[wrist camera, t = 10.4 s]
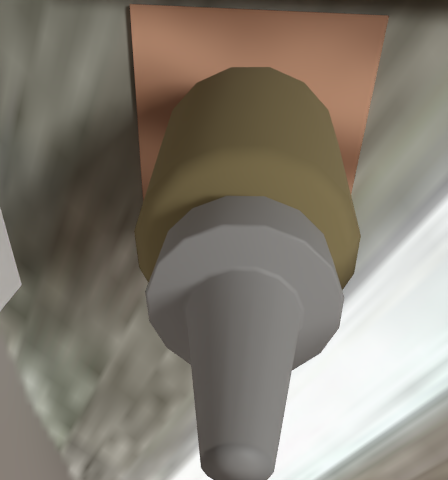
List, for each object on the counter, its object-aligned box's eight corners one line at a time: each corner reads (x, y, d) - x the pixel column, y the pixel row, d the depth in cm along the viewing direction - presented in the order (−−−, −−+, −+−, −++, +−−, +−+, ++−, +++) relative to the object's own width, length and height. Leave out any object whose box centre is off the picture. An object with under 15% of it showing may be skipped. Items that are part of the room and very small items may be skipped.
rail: (99, -121, 17) (72, -143, 15) (801, -99, 16) (906, -118, 13) (130, 224, 26) (116, 250, 23) (593, 255, 24) (633, 285, 22)
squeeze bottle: (301, 217, 24) (388, 607, 9) (166, 190, 24) (1, 544, 8) (347, 73, 20) (672, 319, 4) (185, 39, 20) (-71, 175, 4)
